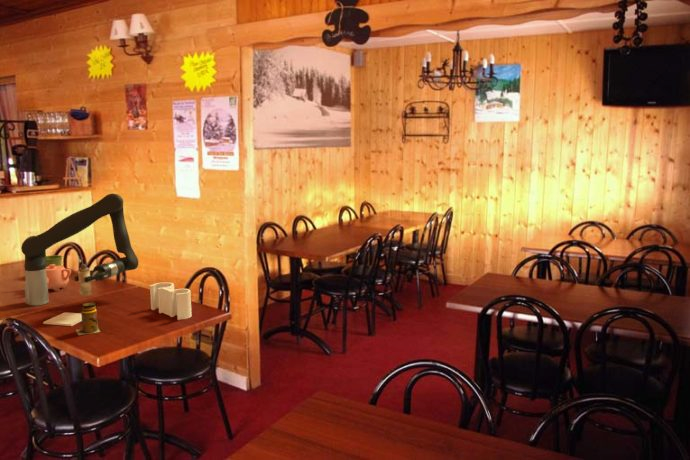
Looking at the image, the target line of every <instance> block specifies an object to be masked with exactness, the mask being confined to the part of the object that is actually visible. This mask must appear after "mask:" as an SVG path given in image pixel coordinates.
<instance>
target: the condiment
mask: <svg viewBox="0 0 690 460" xmlns="http://www.w3.org/2000/svg"><path fill="white" fill-rule="evenodd" d="M80 314H81V315H82V321H81V327H82V328H79V329H75V331H76V334H77V335H78V336H83V335H88V334H90V335H91V334H95V333H101V330H100V328H99V326H98V310H97V309H96V302H85V303H82V304H81V312H80Z"/></svg>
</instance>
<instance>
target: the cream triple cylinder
mask: <svg viewBox="0 0 690 460" xmlns="http://www.w3.org/2000/svg"><path fill="white" fill-rule="evenodd" d="M149 291H150V292H149V293H150V309H151V310H152V311H155V310H156V309H158V313H159V314H165V315H167V316H169V317H170V318H173V317H175V316H177V321H180V320H187V319H190V318H191V317H192V315H193V314H192V298H191V297H192V295H191V294H192V293H191V290H190V289H189V288H176V289H175V283H173V282H157V283H153V284H150V285H149Z"/></svg>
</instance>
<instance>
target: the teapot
mask: <svg viewBox="0 0 690 460" xmlns="http://www.w3.org/2000/svg"><path fill="white" fill-rule="evenodd" d="M46 273H47V284H48V290H53V291H54V292H59V291H61V289H65V288H67V285H68V284H69V280H70V278H69V277H70V276H71V274H72V269H70V268H65V266H64V265H63V266H62V265H61V266H55V264H50V265H49V266H48V267H46Z"/></svg>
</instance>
